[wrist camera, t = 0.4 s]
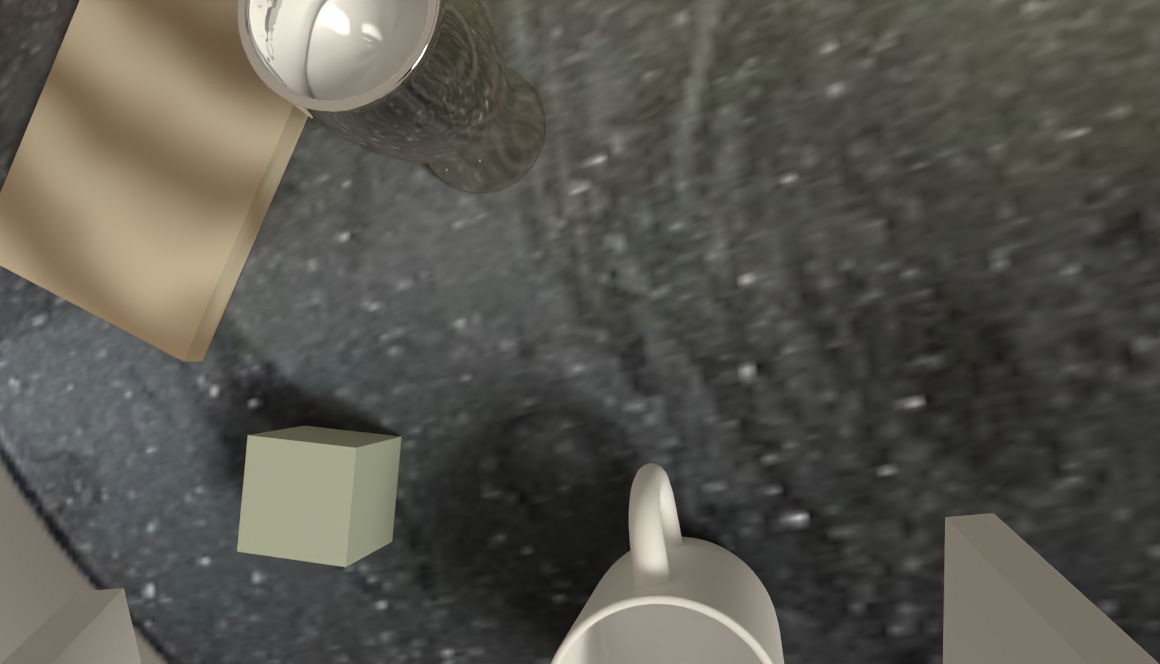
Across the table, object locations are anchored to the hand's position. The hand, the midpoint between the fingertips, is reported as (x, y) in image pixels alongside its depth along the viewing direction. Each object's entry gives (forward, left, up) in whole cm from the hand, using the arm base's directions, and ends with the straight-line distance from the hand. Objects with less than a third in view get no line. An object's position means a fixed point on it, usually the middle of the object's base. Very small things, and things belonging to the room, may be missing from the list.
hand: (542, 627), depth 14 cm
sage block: (+8, -13, -25) cm, 30 cm away
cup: (+5, +3, -25) cm, 26 cm away
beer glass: (-10, -14, -25) cm, 31 cm away
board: (-3, -29, -25) cm, 39 cm away
